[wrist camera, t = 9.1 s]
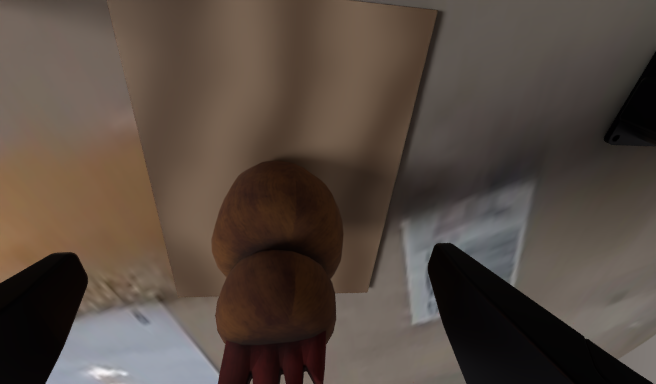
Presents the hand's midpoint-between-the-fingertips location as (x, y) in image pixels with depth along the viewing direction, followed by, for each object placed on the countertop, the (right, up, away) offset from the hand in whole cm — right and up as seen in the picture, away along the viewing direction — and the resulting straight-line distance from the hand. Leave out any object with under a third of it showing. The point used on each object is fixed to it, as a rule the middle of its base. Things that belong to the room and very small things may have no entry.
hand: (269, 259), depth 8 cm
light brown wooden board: (-2, +3, +14) cm, 15 cm away
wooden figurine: (-2, +2, +13) cm, 13 cm away
